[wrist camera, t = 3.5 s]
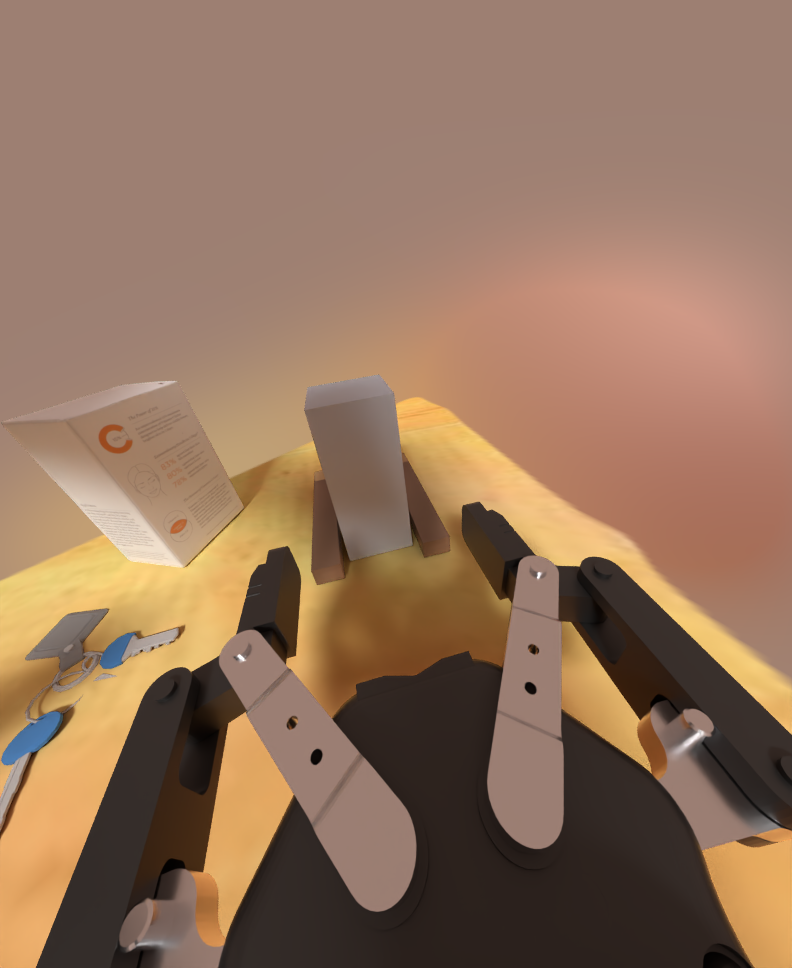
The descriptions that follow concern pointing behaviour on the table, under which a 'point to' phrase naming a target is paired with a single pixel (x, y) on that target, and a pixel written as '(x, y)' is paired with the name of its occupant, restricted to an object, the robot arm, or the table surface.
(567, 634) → the table surface
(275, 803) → the table surface
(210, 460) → the small box
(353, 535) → the slate block
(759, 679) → the table surface
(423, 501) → the pair of brown sticks
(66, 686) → the key chain
